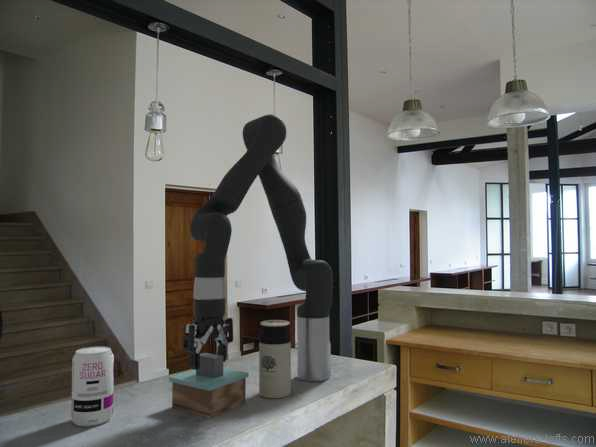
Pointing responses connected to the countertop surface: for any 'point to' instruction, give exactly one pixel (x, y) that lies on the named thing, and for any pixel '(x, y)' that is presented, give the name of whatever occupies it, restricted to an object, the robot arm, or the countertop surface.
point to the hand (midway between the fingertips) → (208, 365)
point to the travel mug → (274, 359)
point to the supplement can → (92, 386)
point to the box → (208, 398)
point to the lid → (209, 374)
